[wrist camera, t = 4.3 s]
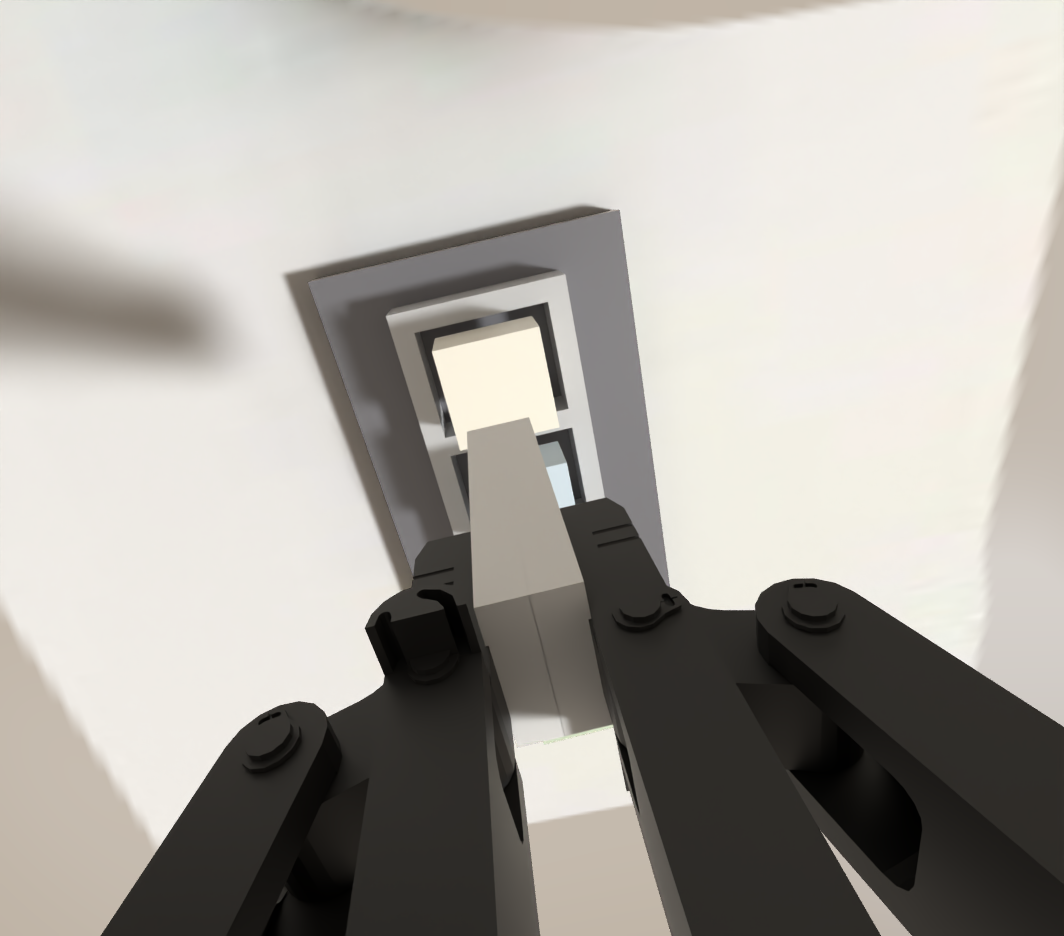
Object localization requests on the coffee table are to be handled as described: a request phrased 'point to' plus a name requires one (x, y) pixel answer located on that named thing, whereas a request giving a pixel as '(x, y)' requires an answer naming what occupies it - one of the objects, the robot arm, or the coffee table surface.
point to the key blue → (558, 473)
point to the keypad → (478, 301)
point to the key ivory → (495, 377)
